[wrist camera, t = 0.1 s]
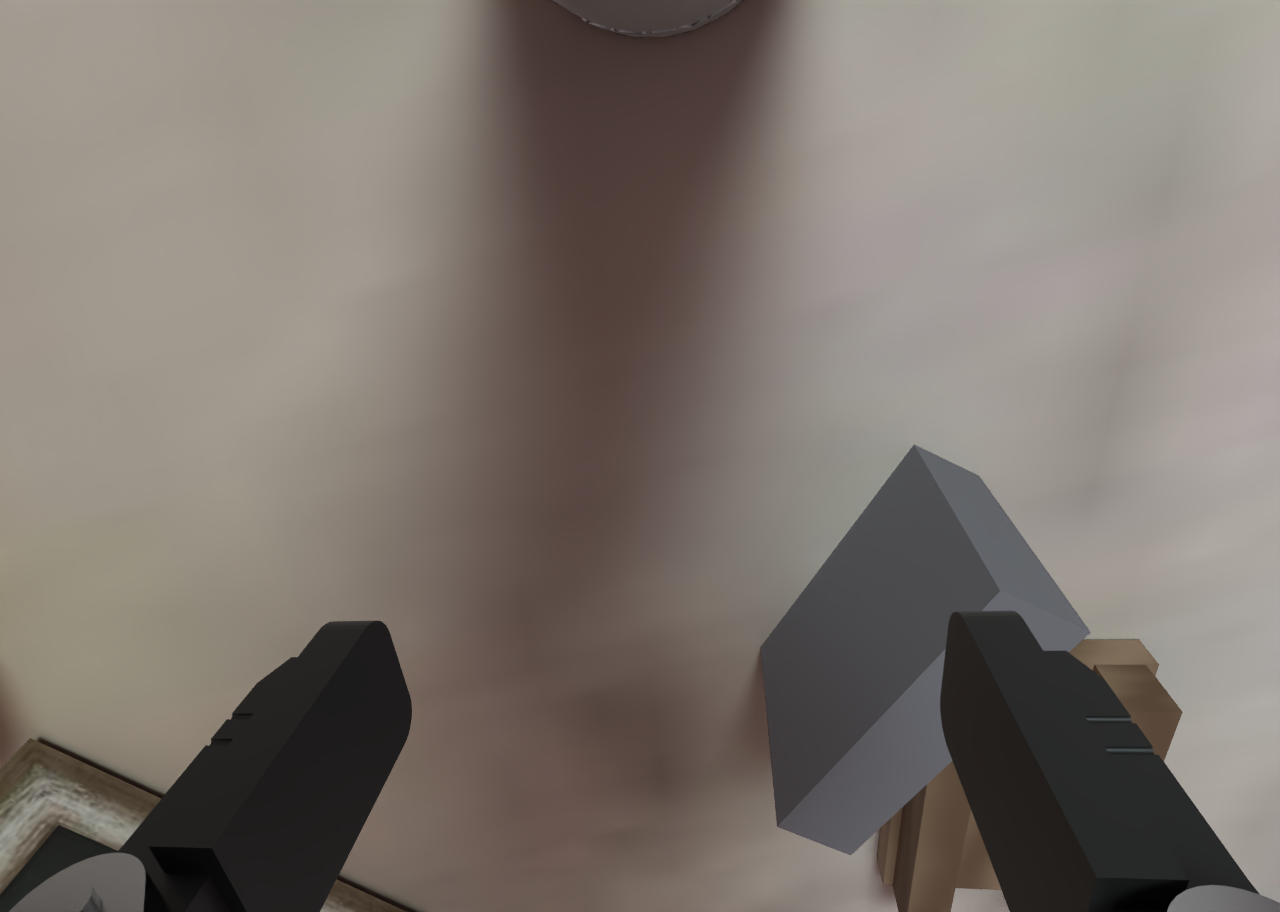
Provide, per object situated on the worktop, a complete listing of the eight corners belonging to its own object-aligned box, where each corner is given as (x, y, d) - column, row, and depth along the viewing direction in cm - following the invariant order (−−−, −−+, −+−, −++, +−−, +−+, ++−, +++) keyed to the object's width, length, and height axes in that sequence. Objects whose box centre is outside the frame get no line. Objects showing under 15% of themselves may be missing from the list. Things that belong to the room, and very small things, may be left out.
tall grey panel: (760, 646, 32) (777, 826, 24) (913, 443, 27) (1000, 590, 19) (819, 671, 32) (855, 857, 24) (982, 477, 27) (1096, 634, 19)
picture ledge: (877, 857, 38) (893, 935, 35) (900, 640, 31) (925, 709, 27) (1067, 864, 37) (1105, 945, 33) (1138, 639, 30) (1196, 712, 26)
